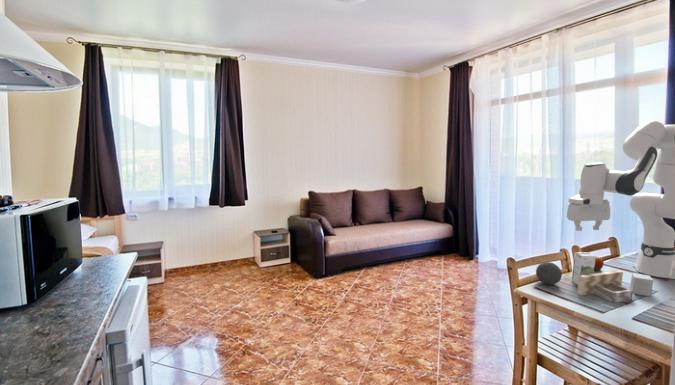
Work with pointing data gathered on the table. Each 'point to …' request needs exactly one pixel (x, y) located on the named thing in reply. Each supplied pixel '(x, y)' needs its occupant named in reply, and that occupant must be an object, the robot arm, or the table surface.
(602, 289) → the wooden table
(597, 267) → the fruit
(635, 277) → the product box
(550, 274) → the decorative ball
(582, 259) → the syrup box
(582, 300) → the table surface
